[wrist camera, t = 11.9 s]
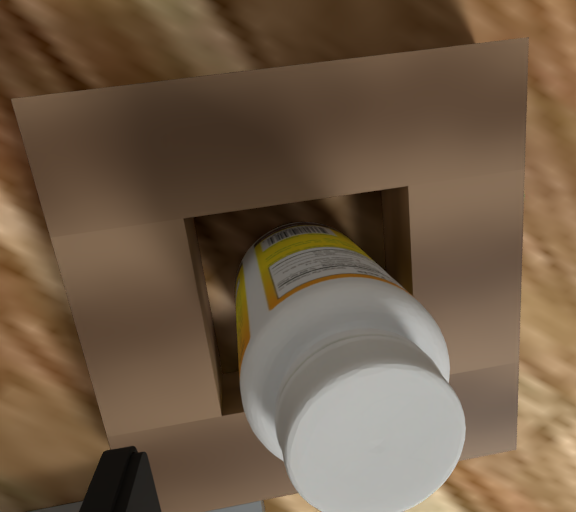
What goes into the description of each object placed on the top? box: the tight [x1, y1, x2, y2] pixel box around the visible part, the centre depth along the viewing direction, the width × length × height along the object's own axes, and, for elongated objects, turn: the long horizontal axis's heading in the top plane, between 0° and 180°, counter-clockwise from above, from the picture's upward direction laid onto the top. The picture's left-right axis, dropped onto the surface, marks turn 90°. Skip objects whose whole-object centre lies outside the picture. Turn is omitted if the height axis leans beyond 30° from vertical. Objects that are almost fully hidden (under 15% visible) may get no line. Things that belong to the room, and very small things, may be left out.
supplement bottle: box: [235, 222, 466, 512], centre depth 14 cm, size 6×6×10 cm
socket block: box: [11, 37, 529, 512], centre depth 18 cm, size 16×16×3 cm
